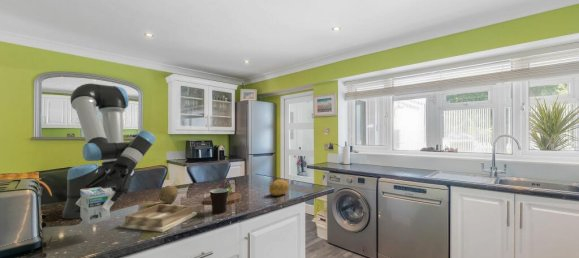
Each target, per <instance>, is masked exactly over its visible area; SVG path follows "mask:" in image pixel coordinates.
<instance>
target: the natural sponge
mask: <svg viewBox="0 0 579 258" xmlns="http://www.w3.org/2000/svg"><path fill="white" fill-rule="evenodd" d="M178 194H179V191H178V188H177V187H176V186H174V185H169V184H168V185H166V186H164V187H163V188H162V189H161V190H160V192H159V200H160V201H162V202H165V204H168V205H173V203H174V202H175V200H176V199H177V197H178Z"/></svg>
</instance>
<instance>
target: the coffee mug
mask: <svg viewBox="0 0 579 258" xmlns="http://www.w3.org/2000/svg"><path fill="white" fill-rule="evenodd" d="M209 196H211V204H210V205H211V211H212V213H213V214H223V213H226V212H227V207H228V206H227V205H228V204H227V199H228V188H226V189H221V188H219V189H216V188H215V189H211V190H209Z"/></svg>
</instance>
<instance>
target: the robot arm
mask: <svg viewBox="0 0 579 258" xmlns="http://www.w3.org/2000/svg"><path fill="white" fill-rule="evenodd" d="M69 99H70V105H71V107H72V109H73V110H75V111H76V114H77V117H78V120H79V124H80V127H81V130H82V133H83V136H84V139H85V144H83V146H82V159H84V160H85V161H87V162H89V161H90V162H93V163H87V164H86V163H85V164H81V165H77V166H73V167H70V168H69V169H68V170H67V177H66V180H67V181H66V182H67V185H66V186H67V188H66V189H67V193H66V195H67V196H66V197H67V200H66V203H65V205H64V208H63V211H62V217H61V218H63V219H67V220H75V219H82V218H81V217H80V206H81V192H80V189H88V188H95V187H102V188H104V189H110V188H115V189H114V191H112V192H110V193H111V194H110V196H109V197H108V199H107V200H106V201H105V203H104V204H103V205H102V208H103V209H105V210H106V211H108V210H109V209H111V207H112V206H113V204H114V203H115V202H117V200H118V199H119V197H120V196H121V195H123V194H128V191H129V190H130V186H131V183H132V181H133V178H134V176H135V175H136V173H135V168H136V167H137V165H138V164H139V163H140V162H141V160H142V159H143V157H144V156H145V155H146V153H148V152H149V150H150V148H152V146H154V143H155V142H156V136H155V135H154V134H153V133H152V132H150V131H148V130H145V129H144V130H141V131H140V132H139V133H138V134H136V136H135V137H134V138H133V139H131V140H130V141H124V128H123V127H124V126H123V113H124V112H125V109H127V108H128V106H129V101H130V100H129V95H128V92H127V90H125V88H123V87H122V86H121V87H120V86H115V85H107V84H106V85H105V84H98V83H92V82H91V83H84V84H81V85H80V86H77V87H76V88H75V89H74V90H73V91H72V92H71V95H70V98H69ZM97 107H98V110H97ZM98 112H100V113H101V115H102V122H101V119H100V115H99V113H98ZM94 161H95V162H96V163H94ZM99 161H101V165H99V163H98V162H99Z"/></svg>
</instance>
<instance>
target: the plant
mask: <svg viewBox="0 0 579 258" xmlns="http://www.w3.org/2000/svg"><path fill="white" fill-rule="evenodd" d="M226 182H227V180H226V179H223V182H222V183H221V184H222V185H221V184H219V185H218V186H216V187H215V189H228V199H227V205H231V204H233V205H234V204H236V203H238V202H240V201H241V199H242V193H239V192H236V191H233V190H232V188H233V186H232V185H230V184H228V185H226V186H225V183H226ZM228 187H229V188H228ZM203 204H205V205H212V204H211V196H210V195H208V196H205V197H204V198H203Z"/></svg>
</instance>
